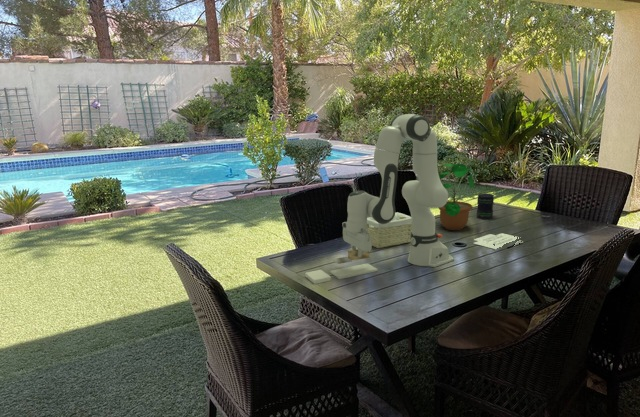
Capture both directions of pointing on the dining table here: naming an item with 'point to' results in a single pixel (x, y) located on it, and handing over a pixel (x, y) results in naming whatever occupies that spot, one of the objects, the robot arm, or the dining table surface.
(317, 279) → the tile
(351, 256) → the wooden handled scraper
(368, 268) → the tool rest
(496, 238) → the paper stack
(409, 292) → the dining table surface
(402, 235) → the storage basket
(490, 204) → the storage jar
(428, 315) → the dining table surface
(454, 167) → the potted plant
